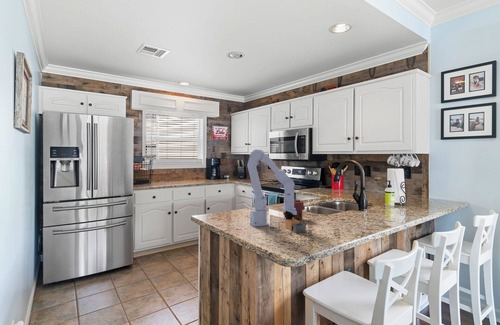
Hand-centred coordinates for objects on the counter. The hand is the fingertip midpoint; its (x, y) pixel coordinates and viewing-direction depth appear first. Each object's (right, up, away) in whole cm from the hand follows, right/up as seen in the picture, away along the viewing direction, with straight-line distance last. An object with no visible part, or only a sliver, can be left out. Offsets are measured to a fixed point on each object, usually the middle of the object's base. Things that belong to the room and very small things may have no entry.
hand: (288, 224), depth 156 cm
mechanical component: (+8, -1, +18) cm, 19 cm away
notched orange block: (+2, -1, -4) cm, 5 cm away
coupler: (+3, -1, -8) cm, 8 cm away
